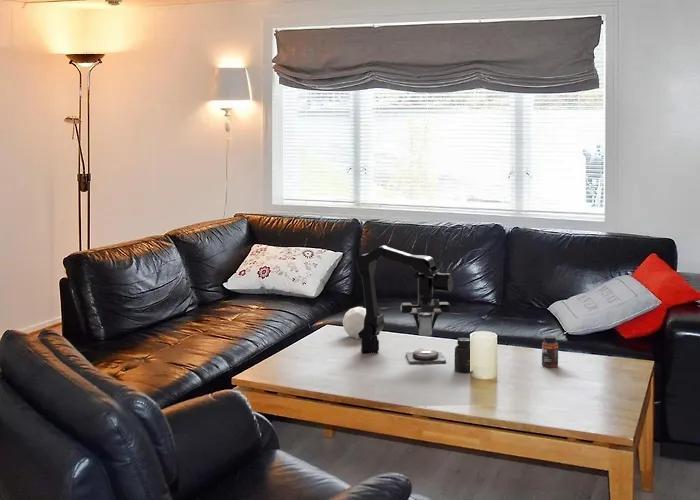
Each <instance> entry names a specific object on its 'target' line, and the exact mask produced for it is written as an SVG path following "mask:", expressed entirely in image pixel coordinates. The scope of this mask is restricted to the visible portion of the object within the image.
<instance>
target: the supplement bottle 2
mask: <svg viewBox="0 0 700 500" xmlns="http://www.w3.org/2000/svg"><path fill="white" fill-rule="evenodd" d="M541 365H542V366H543V367H545V368H547V369H548V368H549V369H550V368H556V367H558V366H559V343H558V342H557V339H556V336H555V335H548V334H547V335H545V336H544V341H543V342H542V343H541Z"/></svg>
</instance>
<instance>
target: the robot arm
mask: <svg viewBox="0 0 700 500" xmlns="http://www.w3.org/2000/svg"><path fill="white" fill-rule="evenodd" d="M382 258H385V259H389V260H392V261H395V262H397V263H400V264H404V265H407V266H409V267H410V268H411V269H413V271H415V273H414V274H413V275H412V278H415V279H417V304H412V303H411V302H401V303H400V307H399V308H400V312H401V313H403V314H409V315H411V316H413V319H414V321H415V325H416V327H417V330H419V313H418V311H421V312H420V313H431V314H432V330H434V327H435V324H436V322H437V319H438V317H439V315H442V314H443V313H451V311H452V310H451V307H452V306H451V304H450V303H449V302H448V301H440V299H439V298H434V290H435V291H437V292H438V291H439V292H447V293H448V292H449V293H451V292H452V290H453V287H454V281H453V277H452V274H451V273H442V272H441V271H440V269H439V267H438V266H437V265H436V262H435V260H434V258H433V257H432V256H429V255H424V254H423V255H422V254H419V255H418V254H411V253H408V252H405V251H401V250H398V249H395V248H392V247H389V246H387V245H381V246H378V247H377V248H375V249H373V250H372V251H369V252H368V253H365V254H364V253H363V254H361V255H359V256H358V257H357V258H356V260H355V264H356V267H357V271H358V273H359V275H360V276H361V281H362V288H363V297H364V305H365V309H366V315H365V319H364V328H363V329H362V330H361V331H360V332H359V333H358V335H359V339H361V340H360V341H361V346H360V347H361V348H360V351H361V354H364V355H365V354H367V355H368V354H378V353H379V351H380V340H379V338H378V336H379V335H380V333H381V331H383V329H384V325H386V322H385V319H384V318H385V315H384V314H380V311H379V309H378V301H377V292H376V282H375V273H376V268H377V261H379V260H380V259H382Z"/></svg>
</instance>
